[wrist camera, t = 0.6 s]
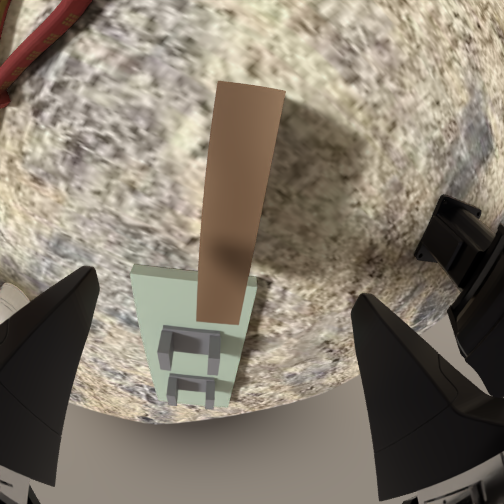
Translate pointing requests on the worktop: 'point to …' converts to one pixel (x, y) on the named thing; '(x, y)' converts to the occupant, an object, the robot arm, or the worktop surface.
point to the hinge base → (187, 338)
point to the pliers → (36, 40)
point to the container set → (11, 301)
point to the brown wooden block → (234, 195)
